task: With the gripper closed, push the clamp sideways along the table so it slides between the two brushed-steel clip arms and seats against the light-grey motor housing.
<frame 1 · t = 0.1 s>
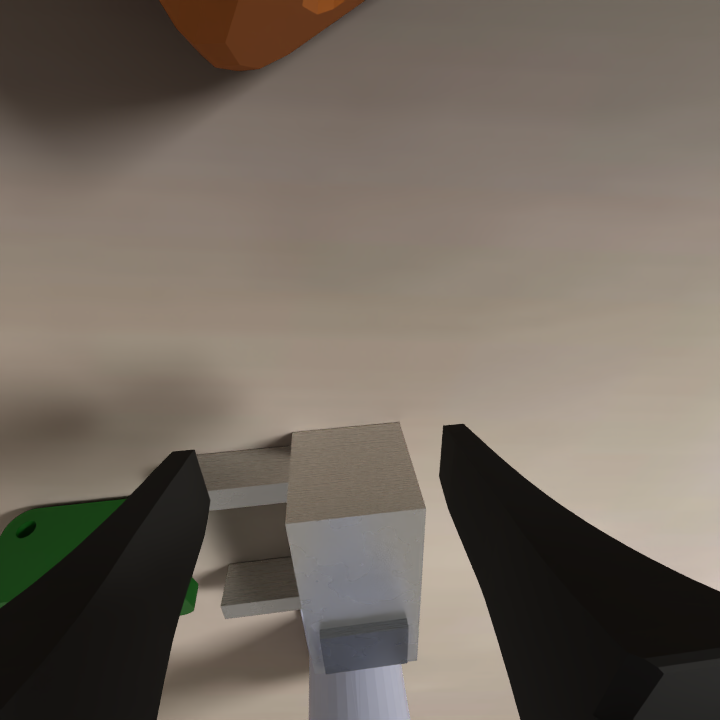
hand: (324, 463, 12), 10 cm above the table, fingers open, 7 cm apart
motor housing: (352, 507, 27), on the table
clamp: (125, 527, 26), on the table
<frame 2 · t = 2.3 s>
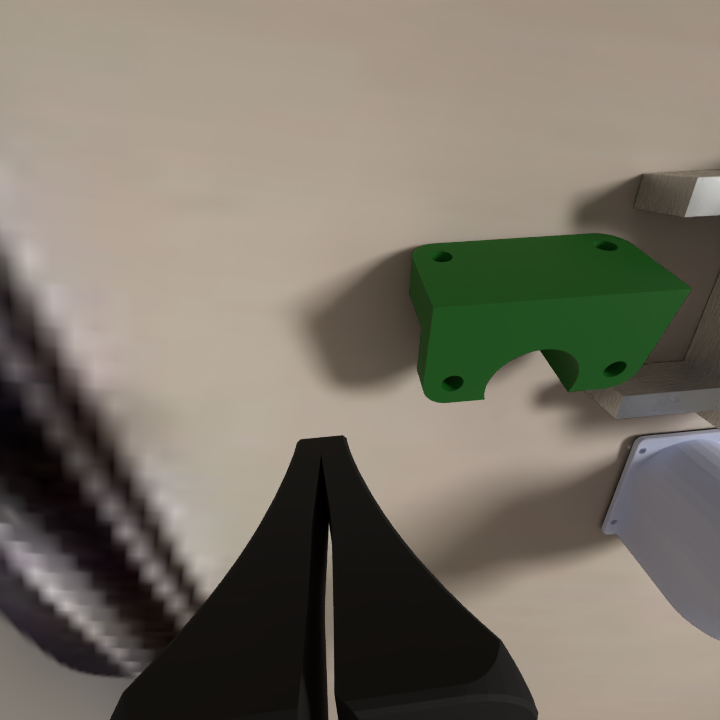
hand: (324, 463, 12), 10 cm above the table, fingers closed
clamp: (498, 299, 21), on the table
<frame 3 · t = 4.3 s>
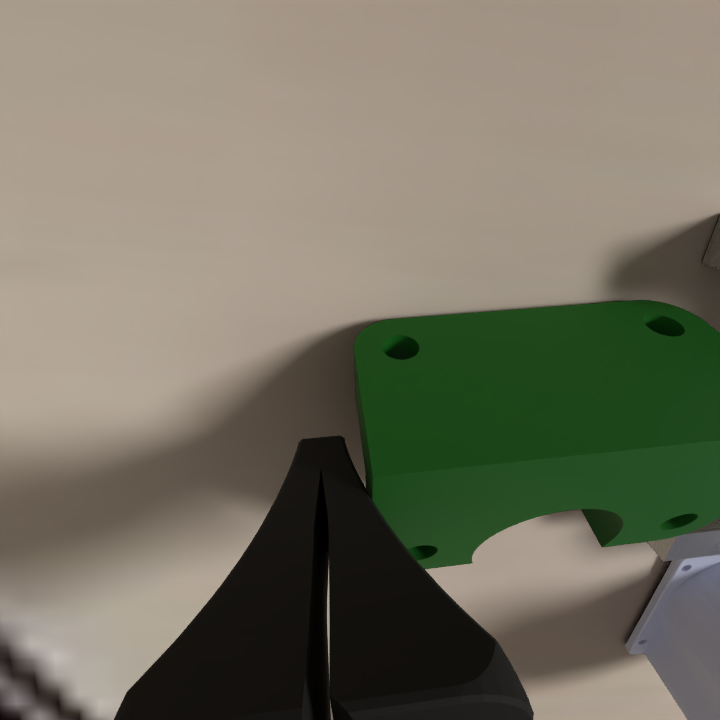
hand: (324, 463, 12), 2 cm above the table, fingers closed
clamp: (494, 388, 14), on the table, touching gripper
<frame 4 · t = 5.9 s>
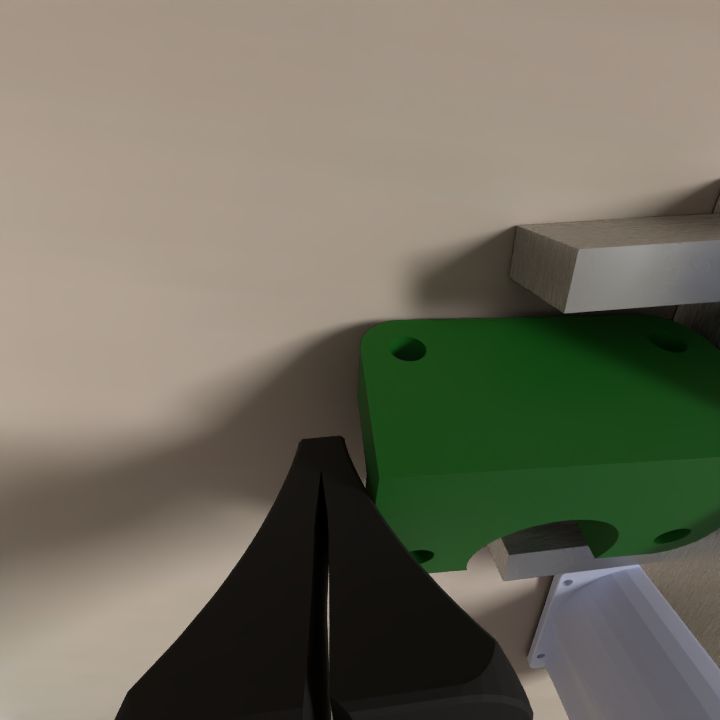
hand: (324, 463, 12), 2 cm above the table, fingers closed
clamp: (494, 395, 14), on the table, touching gripper
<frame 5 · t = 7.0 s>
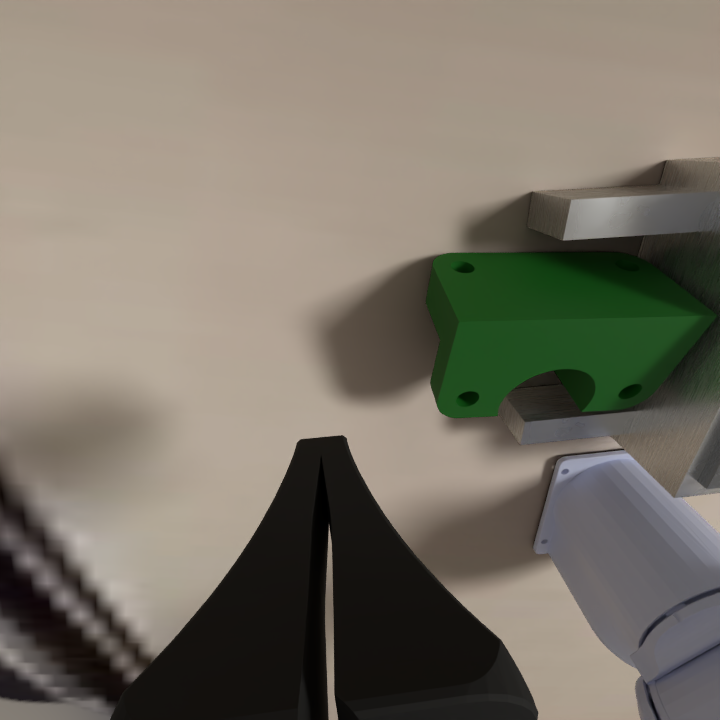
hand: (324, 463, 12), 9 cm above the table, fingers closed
motor housing: (678, 303, 21), on the table
clamp: (513, 313, 21), on the table
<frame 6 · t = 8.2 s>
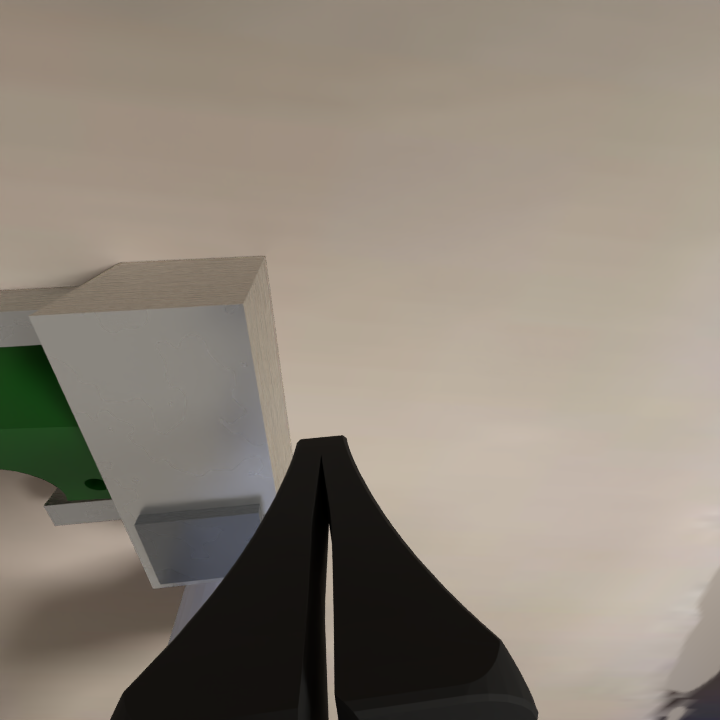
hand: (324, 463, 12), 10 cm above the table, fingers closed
motor housing: (222, 387, 21), on the table
clamp: (51, 394, 21), on the table
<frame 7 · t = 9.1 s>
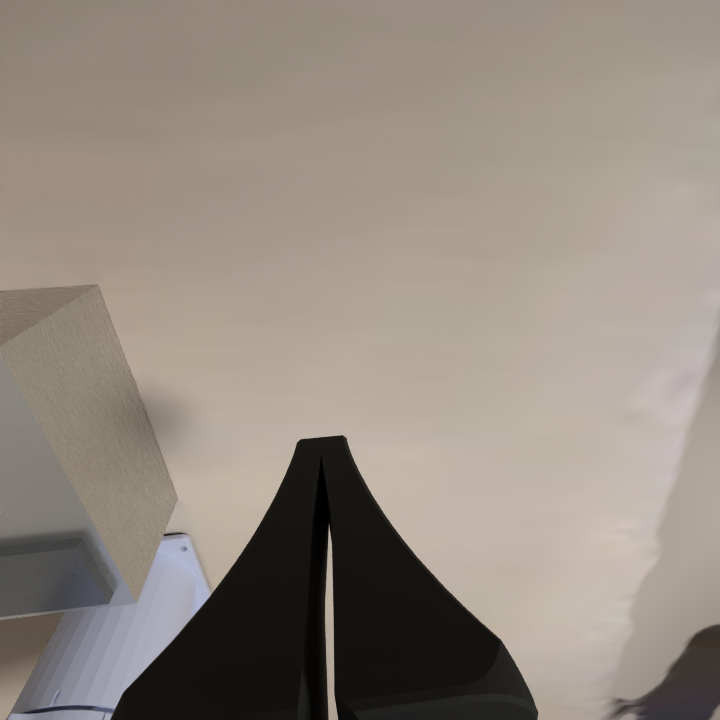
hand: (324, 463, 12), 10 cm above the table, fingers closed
motor housing: (82, 414, 21), on the table
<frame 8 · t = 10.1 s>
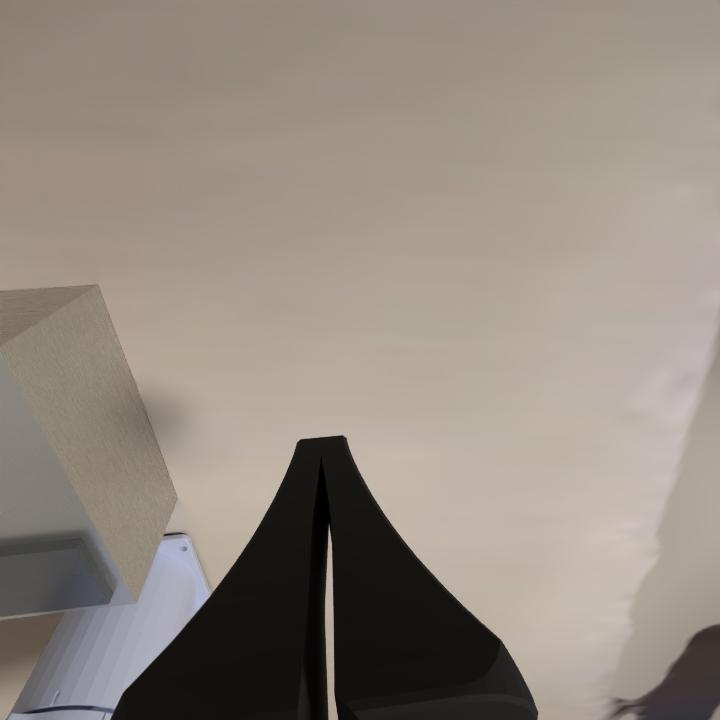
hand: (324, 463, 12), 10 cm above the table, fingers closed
motor housing: (82, 414, 21), on the table
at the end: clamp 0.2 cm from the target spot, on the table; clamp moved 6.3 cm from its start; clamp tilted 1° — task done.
